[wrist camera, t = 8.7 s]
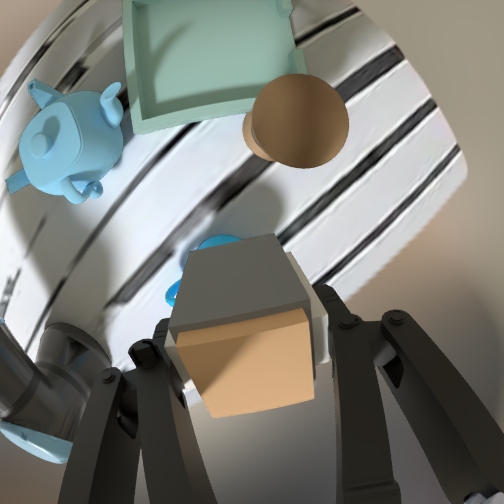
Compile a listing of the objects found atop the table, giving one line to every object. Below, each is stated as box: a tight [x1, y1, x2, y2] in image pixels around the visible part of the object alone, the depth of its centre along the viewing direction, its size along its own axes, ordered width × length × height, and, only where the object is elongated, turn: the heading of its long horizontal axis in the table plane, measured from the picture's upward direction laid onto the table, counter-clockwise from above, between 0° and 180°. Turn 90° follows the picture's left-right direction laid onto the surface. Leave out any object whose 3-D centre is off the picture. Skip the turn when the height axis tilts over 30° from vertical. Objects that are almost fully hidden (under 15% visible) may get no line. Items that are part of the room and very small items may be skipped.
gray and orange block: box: [168, 233, 316, 418], centre depth 13 cm, size 5×5×8 cm
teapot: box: [5, 79, 123, 204], centre depth 23 cm, size 15×14×11 cm
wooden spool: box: [243, 73, 349, 169], centre depth 25 cm, size 8×8×12 cm
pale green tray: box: [122, 0, 308, 135], centre depth 24 cm, size 20×20×4 cm
